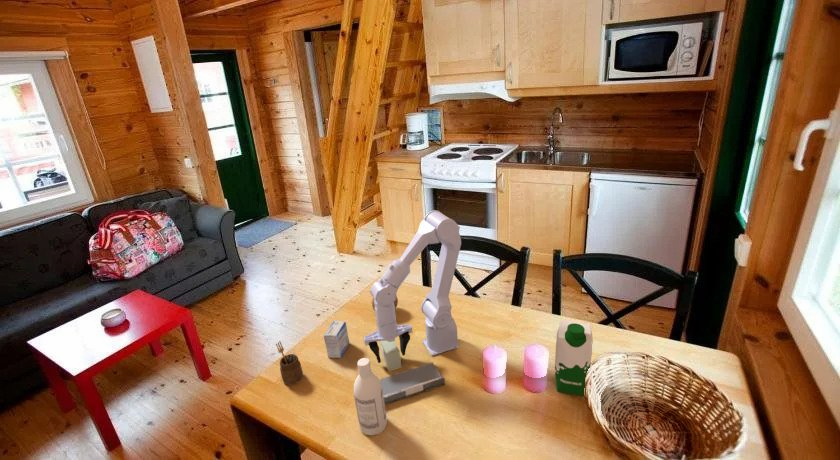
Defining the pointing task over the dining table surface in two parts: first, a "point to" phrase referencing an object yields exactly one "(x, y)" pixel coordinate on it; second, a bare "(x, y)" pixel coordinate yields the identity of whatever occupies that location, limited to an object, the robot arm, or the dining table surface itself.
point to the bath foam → (369, 400)
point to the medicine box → (336, 339)
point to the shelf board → (411, 382)
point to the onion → (394, 303)
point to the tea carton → (390, 355)
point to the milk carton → (572, 356)
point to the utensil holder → (290, 367)
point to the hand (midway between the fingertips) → (391, 357)
